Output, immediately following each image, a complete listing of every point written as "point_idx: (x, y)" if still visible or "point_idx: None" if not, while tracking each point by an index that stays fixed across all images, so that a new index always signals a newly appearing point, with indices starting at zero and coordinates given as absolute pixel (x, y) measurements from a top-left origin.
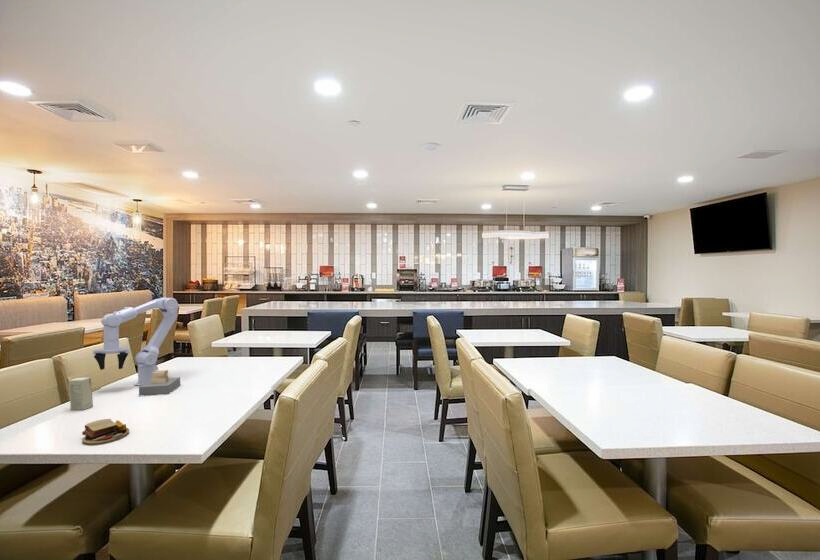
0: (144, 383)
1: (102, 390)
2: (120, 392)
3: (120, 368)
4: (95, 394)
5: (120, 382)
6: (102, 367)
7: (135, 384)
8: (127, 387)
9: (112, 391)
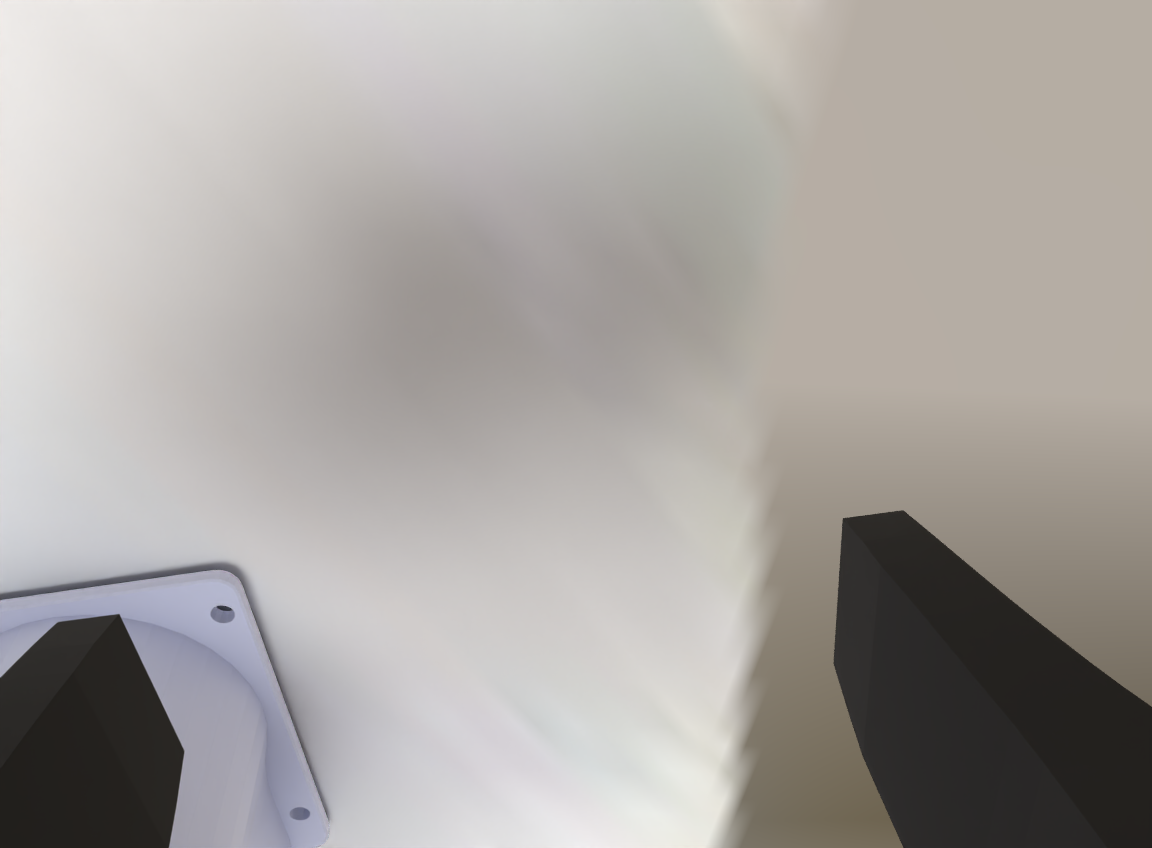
0: (35, 630)
1: (751, 327)
2: (163, 112)
3: (43, 645)
4: (730, 6)
5: (708, 763)
6: (874, 628)
7: (231, 603)
8: (325, 490)
9: (455, 226)
